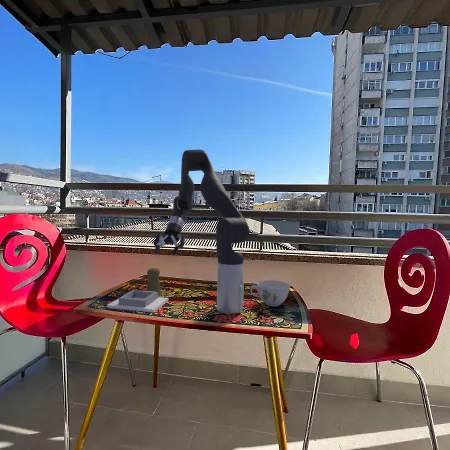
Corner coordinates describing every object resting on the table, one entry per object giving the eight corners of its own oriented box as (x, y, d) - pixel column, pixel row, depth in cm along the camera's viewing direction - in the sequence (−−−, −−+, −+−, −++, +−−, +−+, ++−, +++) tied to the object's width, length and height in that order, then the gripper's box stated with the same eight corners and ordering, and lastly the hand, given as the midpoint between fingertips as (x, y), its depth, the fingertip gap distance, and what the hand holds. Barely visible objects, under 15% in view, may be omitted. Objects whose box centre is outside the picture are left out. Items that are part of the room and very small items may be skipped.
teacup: (288, 299, 112) (289, 280, 112) (290, 311, 100) (291, 289, 99) (251, 297, 115) (251, 278, 114) (248, 307, 102) (249, 286, 102)
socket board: (168, 300, 108) (168, 291, 108) (153, 312, 96) (153, 302, 96) (126, 296, 112) (126, 288, 112) (107, 307, 99) (107, 298, 99)
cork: (157, 297, 112) (157, 270, 111) (143, 295, 113) (143, 269, 113) (163, 292, 118) (163, 267, 117) (150, 291, 119) (150, 266, 118)
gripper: (159, 221, 135) (147, 248, 124) (186, 222, 132) (177, 249, 122) (163, 231, 141) (153, 257, 130) (190, 232, 138) (181, 259, 127)
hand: (165, 254), depth 126 cm, fingers open, 8 cm apart
